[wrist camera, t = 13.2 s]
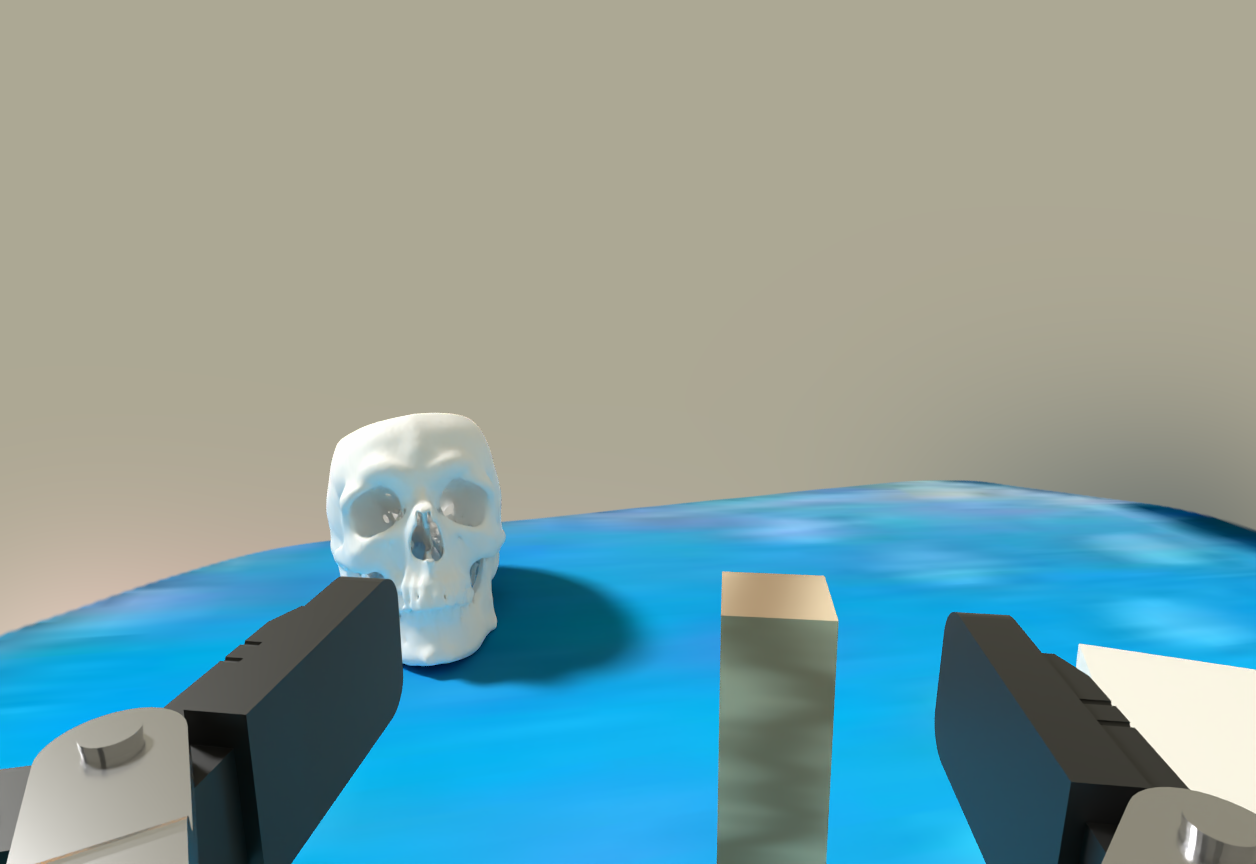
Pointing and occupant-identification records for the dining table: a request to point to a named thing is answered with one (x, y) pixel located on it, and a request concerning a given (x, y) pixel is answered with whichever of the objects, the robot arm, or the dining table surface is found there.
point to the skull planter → (421, 527)
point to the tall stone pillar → (775, 718)
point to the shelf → (1186, 715)
